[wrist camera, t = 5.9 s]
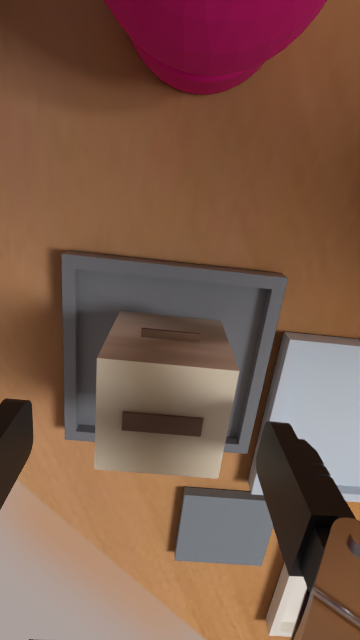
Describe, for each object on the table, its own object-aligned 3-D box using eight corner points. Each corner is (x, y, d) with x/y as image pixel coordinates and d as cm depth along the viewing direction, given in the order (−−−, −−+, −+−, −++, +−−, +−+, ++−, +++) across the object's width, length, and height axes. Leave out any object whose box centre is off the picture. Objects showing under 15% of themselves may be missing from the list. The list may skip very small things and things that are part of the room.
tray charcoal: (281, 273, 16) (288, 278, 15) (243, 441, 19) (247, 453, 18) (68, 250, 15) (61, 253, 14) (70, 427, 19) (65, 439, 18)
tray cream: (440, 537, 22) (451, 552, 21) (390, 626, 26) (398, 642, 25) (295, 527, 22) (301, 542, 21) (265, 619, 25) (268, 635, 25)
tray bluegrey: (470, 350, 17) (487, 358, 16) (403, 492, 21) (414, 506, 20) (283, 331, 17) (289, 339, 16) (247, 480, 20) (251, 494, 19)
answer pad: (277, 493, 21) (280, 501, 20) (259, 556, 23) (261, 565, 22) (184, 486, 20) (184, 495, 20) (174, 551, 23) (174, 560, 22)
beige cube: (222, 313, 16) (241, 363, 11) (207, 405, 18) (218, 480, 13) (120, 303, 16) (96, 349, 11) (115, 397, 18) (94, 471, 13)
